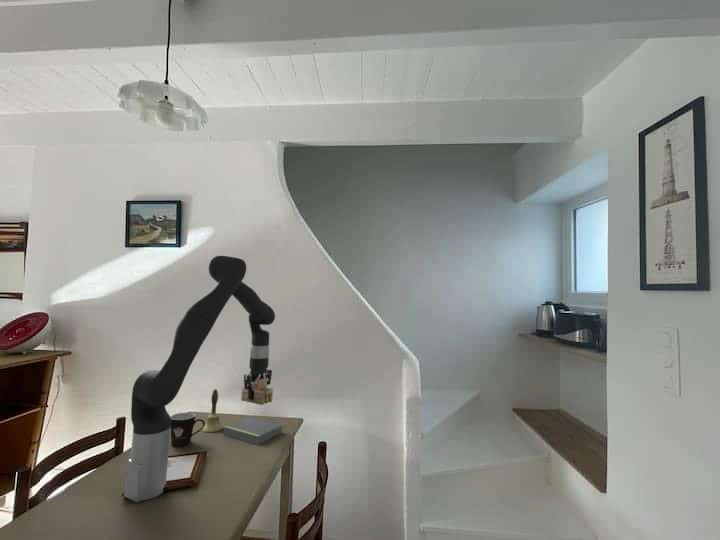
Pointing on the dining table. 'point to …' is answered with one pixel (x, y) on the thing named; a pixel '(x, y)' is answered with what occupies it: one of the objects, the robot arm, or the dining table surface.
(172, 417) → the coffee mug
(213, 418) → the hand bell
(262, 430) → the dock
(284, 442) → the dining table surface
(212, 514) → the dining table surface
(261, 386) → the block
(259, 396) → the tan boxy piece
